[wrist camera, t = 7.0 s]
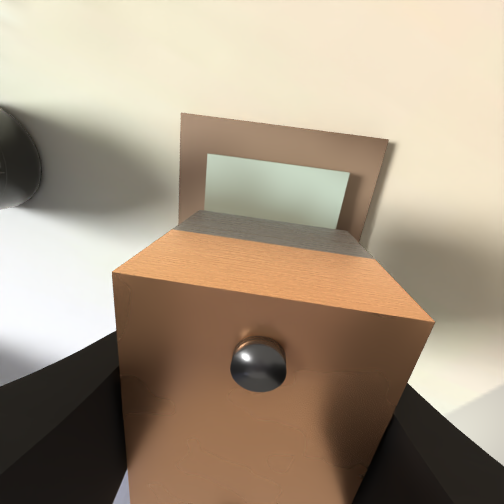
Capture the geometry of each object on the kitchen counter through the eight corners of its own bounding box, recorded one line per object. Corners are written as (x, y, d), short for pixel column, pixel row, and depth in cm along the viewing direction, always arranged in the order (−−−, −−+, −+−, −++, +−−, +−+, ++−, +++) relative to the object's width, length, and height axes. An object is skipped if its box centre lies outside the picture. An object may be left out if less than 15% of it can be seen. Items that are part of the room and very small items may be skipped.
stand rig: (303, 419, 24) (306, 441, 22) (177, 397, 24) (169, 418, 22) (383, 140, 15) (398, 138, 13) (185, 114, 16) (173, 109, 14)
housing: (347, 230, 8) (447, 334, 4) (300, 402, 11) (320, 593, 6) (199, 209, 9) (99, 280, 4) (190, 384, 12) (127, 554, 7)
